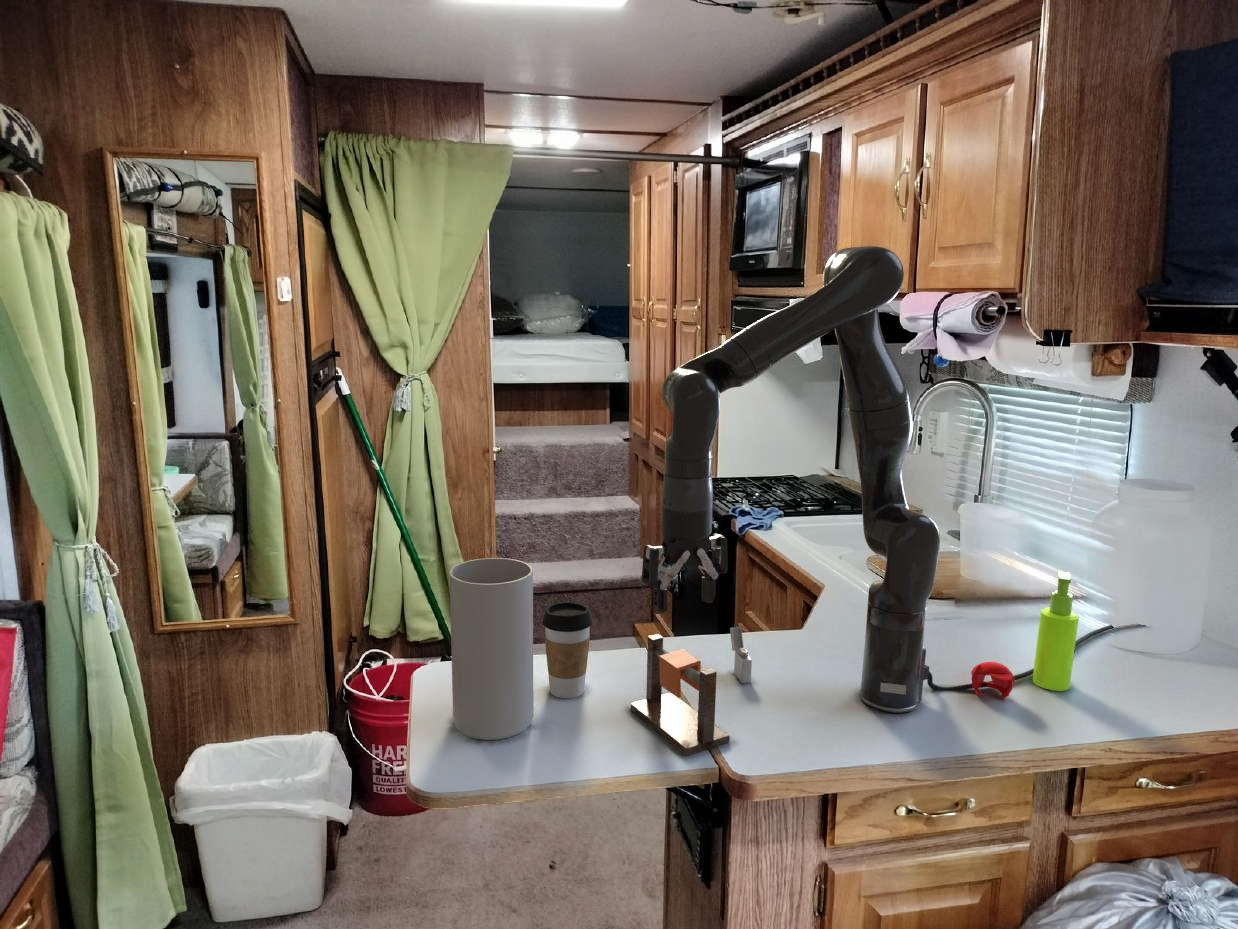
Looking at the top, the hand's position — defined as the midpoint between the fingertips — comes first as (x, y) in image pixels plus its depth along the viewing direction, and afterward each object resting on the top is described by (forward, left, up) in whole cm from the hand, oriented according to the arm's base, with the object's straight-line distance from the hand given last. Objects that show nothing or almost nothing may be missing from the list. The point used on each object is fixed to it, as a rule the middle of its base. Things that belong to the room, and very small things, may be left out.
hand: (684, 606), depth 130 cm
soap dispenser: (-66, +19, -20) cm, 72 cm away
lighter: (-19, -10, -20) cm, 30 cm away
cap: (-52, +17, -20) cm, 59 cm away
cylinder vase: (+26, -15, -20) cm, 36 cm away
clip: (0, 0, -13) cm, 13 cm away
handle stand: (+1, 0, -20) cm, 20 cm away
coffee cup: (+11, -19, -20) cm, 29 cm away
